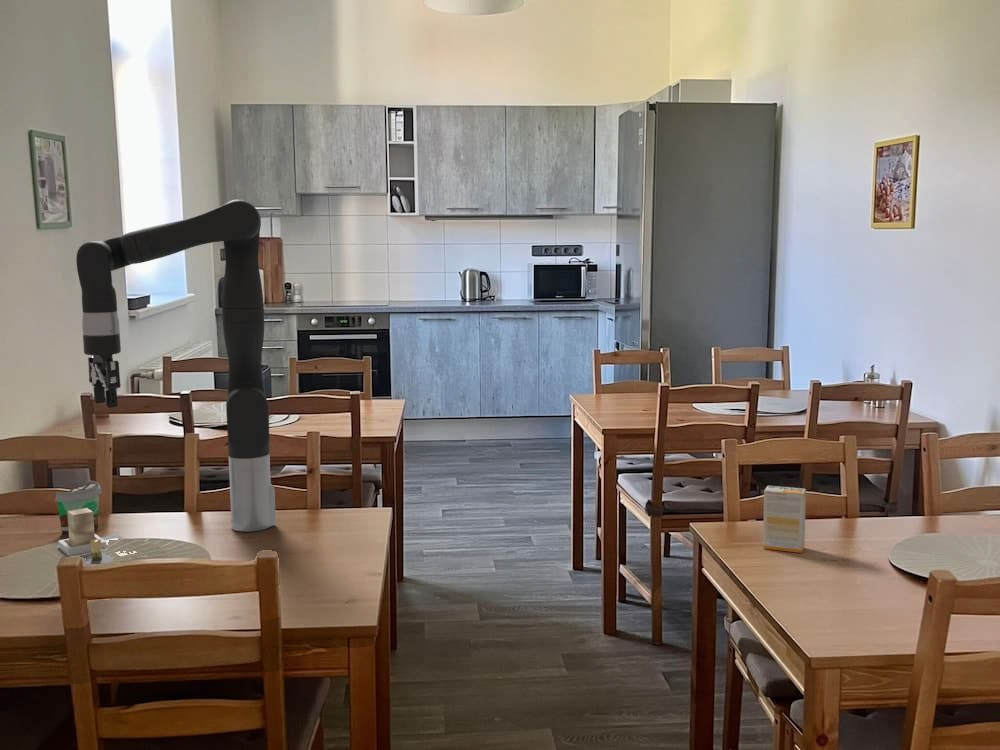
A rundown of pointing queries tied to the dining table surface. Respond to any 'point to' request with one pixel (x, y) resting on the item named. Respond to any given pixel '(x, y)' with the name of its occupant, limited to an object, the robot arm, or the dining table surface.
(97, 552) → the pin
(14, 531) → the dining table surface
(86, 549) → the board
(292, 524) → the dining table surface
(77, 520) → the square pin
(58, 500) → the food container
